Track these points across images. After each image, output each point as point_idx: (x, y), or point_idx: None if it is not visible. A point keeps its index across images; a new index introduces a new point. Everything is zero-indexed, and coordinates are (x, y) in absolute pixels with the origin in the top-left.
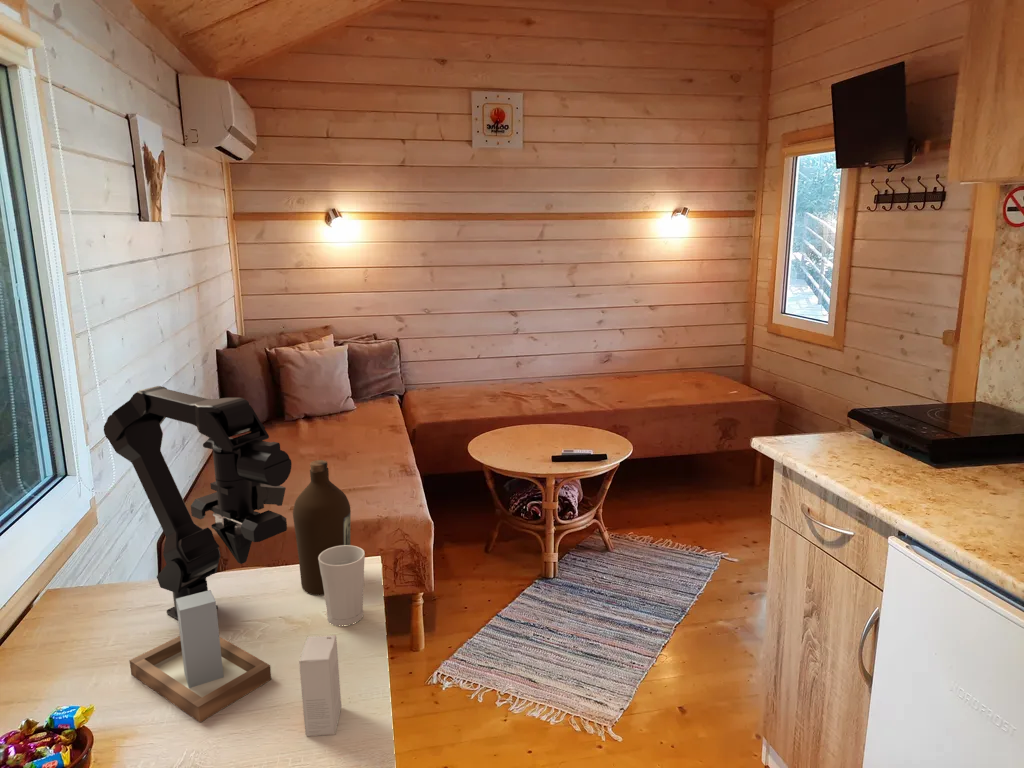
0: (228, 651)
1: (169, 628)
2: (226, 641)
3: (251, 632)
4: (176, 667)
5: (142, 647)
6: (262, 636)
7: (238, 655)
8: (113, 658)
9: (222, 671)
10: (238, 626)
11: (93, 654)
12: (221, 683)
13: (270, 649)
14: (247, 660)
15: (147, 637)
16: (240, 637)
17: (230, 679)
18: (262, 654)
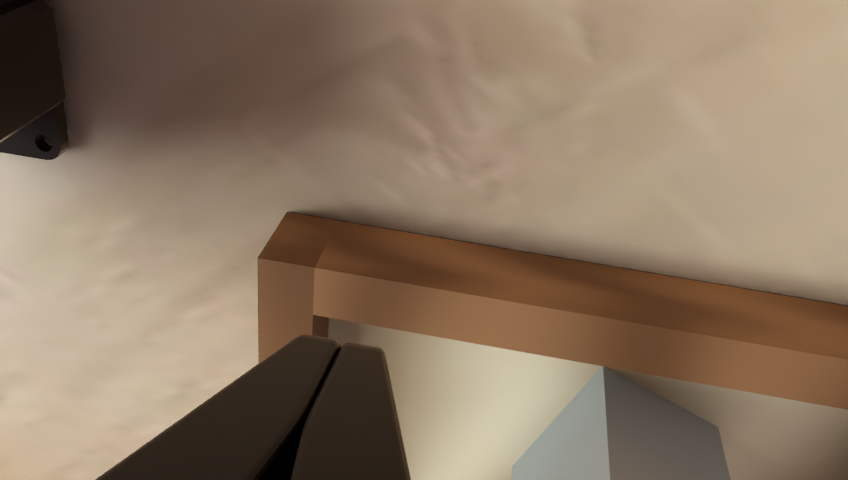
0: (648, 372)
1: (40, 211)
2: (558, 315)
3: (498, 23)
4: (427, 444)
5: (116, 367)
6: (610, 23)
7: (748, 388)
8: (107, 455)
9: (723, 456)
10: (355, 10)
11: (15, 461)
12: (745, 461)
13: (777, 114)
14: (839, 400)
15: (45, 308)
16: (478, 101)
17: (767, 428)
18: (760, 176)
